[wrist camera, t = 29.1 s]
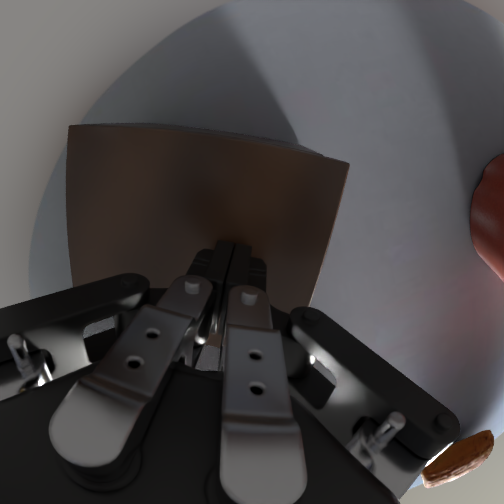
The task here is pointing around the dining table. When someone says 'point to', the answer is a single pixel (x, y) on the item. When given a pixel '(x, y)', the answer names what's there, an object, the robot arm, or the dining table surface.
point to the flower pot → (490, 216)
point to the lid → (197, 206)
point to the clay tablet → (458, 459)
